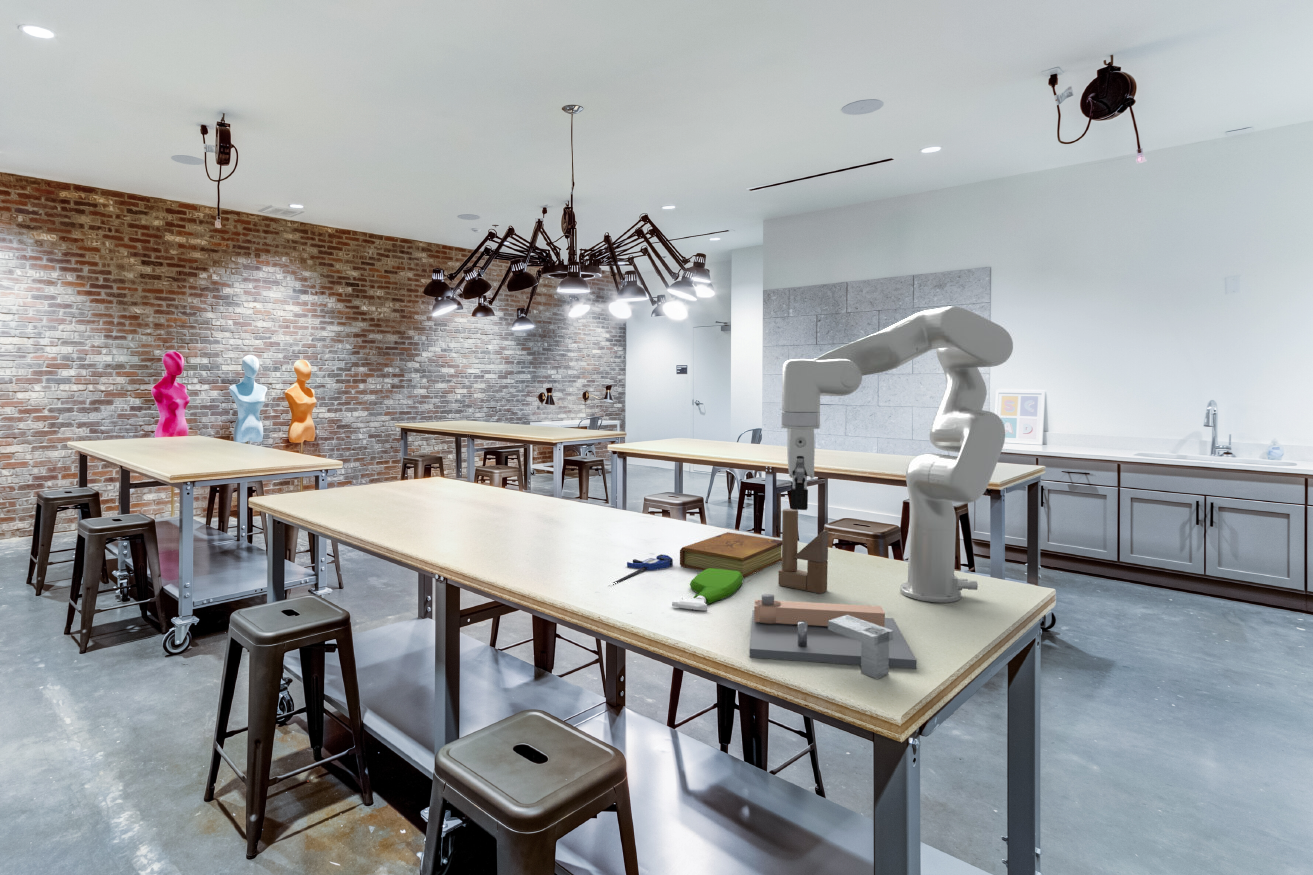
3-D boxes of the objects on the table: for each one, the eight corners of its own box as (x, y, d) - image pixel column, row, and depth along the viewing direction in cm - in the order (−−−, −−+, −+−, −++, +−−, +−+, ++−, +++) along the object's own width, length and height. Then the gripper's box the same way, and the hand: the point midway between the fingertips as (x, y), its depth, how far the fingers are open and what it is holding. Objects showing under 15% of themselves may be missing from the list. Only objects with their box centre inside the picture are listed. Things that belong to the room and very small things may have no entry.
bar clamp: (645, 551, 176) (677, 555, 171) (645, 559, 176) (677, 564, 171) (571, 585, 148) (607, 592, 143) (571, 595, 149) (607, 603, 143)
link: (754, 622, 121) (754, 599, 121) (754, 613, 126) (754, 591, 126) (884, 630, 117) (885, 606, 117) (880, 620, 122) (880, 597, 122)
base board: (892, 625, 125) (893, 618, 125) (916, 668, 106) (916, 659, 106) (752, 617, 130) (752, 610, 130) (749, 657, 110) (749, 648, 110)
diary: (725, 551, 187) (725, 531, 187) (784, 561, 176) (784, 540, 175) (679, 567, 169) (679, 545, 168) (742, 580, 157) (742, 557, 157)
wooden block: (821, 594, 145) (822, 515, 144) (777, 585, 152) (778, 509, 150) (827, 590, 148) (829, 512, 147) (785, 582, 154) (786, 507, 153)
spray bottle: (746, 583, 154) (714, 617, 132) (703, 578, 159) (665, 610, 136) (746, 571, 154) (714, 603, 132) (703, 566, 159) (665, 596, 136)
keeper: (795, 653, 112) (796, 613, 112) (821, 644, 116) (822, 606, 115) (865, 683, 100) (866, 639, 100) (892, 672, 104) (893, 630, 104)
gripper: (821, 423, 121) (819, 513, 122) (818, 419, 138) (816, 499, 139) (780, 422, 122) (779, 512, 123) (782, 419, 139) (780, 498, 140)
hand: (798, 505), depth 131 cm, fingers open, 9 cm apart
